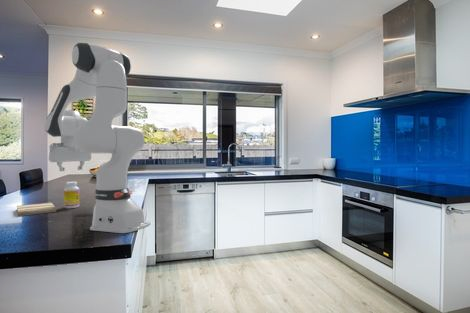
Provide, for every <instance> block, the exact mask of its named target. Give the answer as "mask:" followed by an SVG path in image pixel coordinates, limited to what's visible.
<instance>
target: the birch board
mask: <svg viewBox="0 0 470 313" xmlns="http://www.w3.org/2000/svg"><path fill="white" fill-rule="evenodd" d="M16 212H17V216H18V217H24V216H30V215H31V216H32V215H40V214H48V213H57V207H56V206H55V205H54V204H53V203H52V202H44V203H43V202H42V203H33V204H31V203H30V204H23V205H16Z"/></svg>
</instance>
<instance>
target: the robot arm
mask: <svg viewBox="0 0 470 313" xmlns="http://www.w3.org/2000/svg"><path fill="white" fill-rule="evenodd" d="M71 58H72V59H71V60H72V61H71V62H72V63H73V66H74V67H75V68H76V72H75V74H74V77H73V79H72V80H71V81H70V82H69V83H68V84H64V85H63V87H62V88H61V90H60V91H59V94H58V96H57V98H56V99H55V102H54V104H53V106H52V109H51V111H50V113H49V114H48V115H47V117H46V119H45V122H44V130H45V132H46V134H48V135H49V136H51V137H53V138H57V137H60V142H59V143H58V142H54V143H51V144H50V145H49V153H48V154H49V155H48V161H49V162H50V163H56V165H57V167H58V168H59V172H65V169H66V168H65V167H64V166H63V163H65V162H66V163H67V162H69V163H70V162H79V165H78V166H77V170H78V171H83V167H84V165H85V162H88V161H91V159H92V154H93V155H94V154H95V155H96V154H111V157H110V159H109V160H108V161H107V162H105V163H102V164H101V165H100V166H99V167H98V168H97V169H96V175H95V176H96V188H95V191H94V195H95V196H94V199H95V200H96V202H95V205H94V206H93V214H92V223H91V226H90V227H89V230H90V231H94V232H95V231H97V232H106V233H107V232H108V233H117V234H127V233H131V232H136V231H139V230H142V229H145V228H148V227H150V226H151V221H149V220H146V219H145V215H144V214H145V213H144V210H143V208H141V207H140V206H139V205H138V204H137V203H136V202H135V200H133V198H131V195H133V193H132V192H133V190H130V189H129V187H128V174H129V173H128V172H129V167H130V164H131V161H132V160H133V158H134V157H135V156H136V155H137V154H138V153H139V152H140V151H141V150H142V149H143V148H144V145H145V140H146V138H145V135H144V133H143V131H142V130H141V129H140V128H136V127H132V126H127V125H125V126H123V125H114V124H113V125H112V123H113V120H114V119H115V118H117V117H119V116H122V115H124V114H125V112H126V111H127V109H128V103H127V102H128V88H127V87H128V86H127V85H128V83H127V77H128V76H129V74H130V72H131V69H132V62H131V60H130V56H127V55H126V54H125V53H122V52H118V51H116V50H112V49H110V48H106V47H105V46H101V45H94V44H90V43H87V42H77V43H76V44H74V46H73V49H72V51H71ZM92 98H95V104H94V105H95V106H94V110H93V113H92V115H91V116H90V117H89V119H88V118H86V117H83V116H81V114H80V112H79V111H76V110H67V109H68V106H70V104H72V103H74V102H78V101H83V100H89V99H92Z"/></svg>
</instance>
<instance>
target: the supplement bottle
mask: <svg viewBox="0 0 470 313" xmlns="http://www.w3.org/2000/svg"><path fill="white" fill-rule="evenodd" d="M65 185H66V186H65V187H64V189H63V192H64V194H63V196H64V197H63V208H64V209H75V208H79V207H80V187H78V186H77V185H78V181H67V182H66V184H65Z"/></svg>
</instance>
